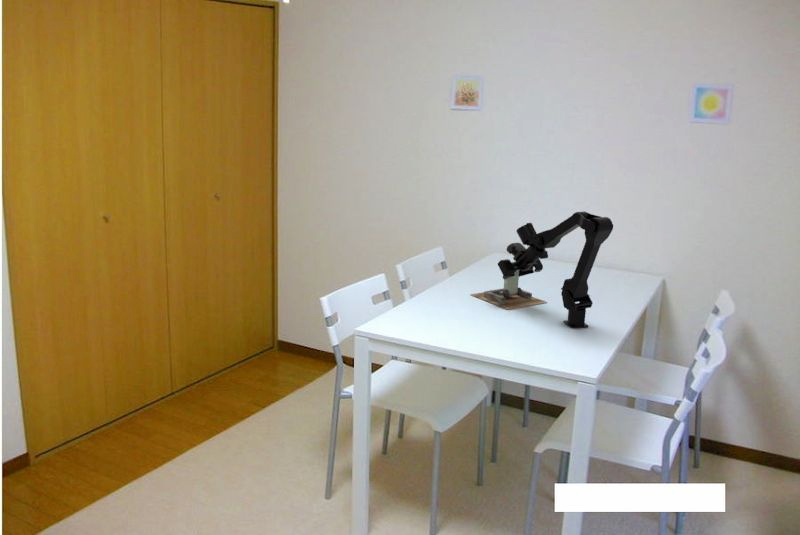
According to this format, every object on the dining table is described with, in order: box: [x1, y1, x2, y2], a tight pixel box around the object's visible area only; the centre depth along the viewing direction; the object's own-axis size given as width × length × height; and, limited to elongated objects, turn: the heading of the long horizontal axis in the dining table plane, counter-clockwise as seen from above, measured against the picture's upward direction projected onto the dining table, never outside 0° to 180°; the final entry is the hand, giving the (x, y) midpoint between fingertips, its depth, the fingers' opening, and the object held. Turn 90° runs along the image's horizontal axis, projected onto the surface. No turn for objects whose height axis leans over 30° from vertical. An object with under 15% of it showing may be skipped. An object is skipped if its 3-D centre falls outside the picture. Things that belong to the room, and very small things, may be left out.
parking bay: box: [470, 287, 548, 311], centre depth 265 cm, size 22×20×3 cm
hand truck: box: [499, 261, 523, 297], centre depth 263 cm, size 6×7×13 cm
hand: (509, 277), depth 264 cm, fingers closed on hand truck, 5 cm apart
